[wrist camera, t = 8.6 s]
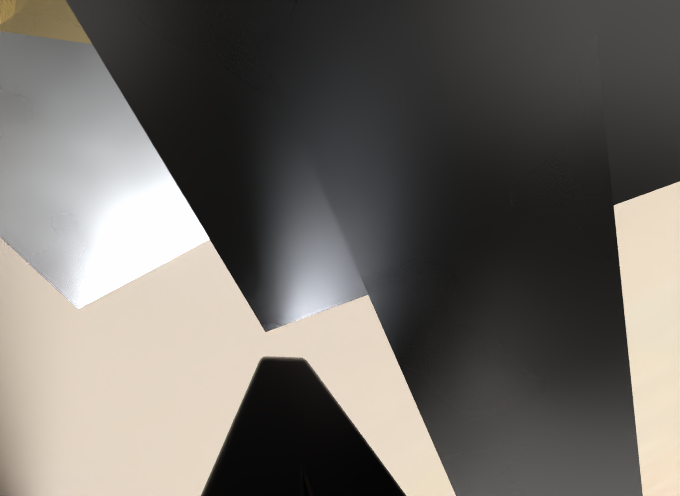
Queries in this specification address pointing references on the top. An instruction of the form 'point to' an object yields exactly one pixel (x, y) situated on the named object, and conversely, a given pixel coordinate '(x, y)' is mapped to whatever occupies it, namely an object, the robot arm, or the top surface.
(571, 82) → the grey and tan model
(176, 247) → the flange
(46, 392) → the top surface
